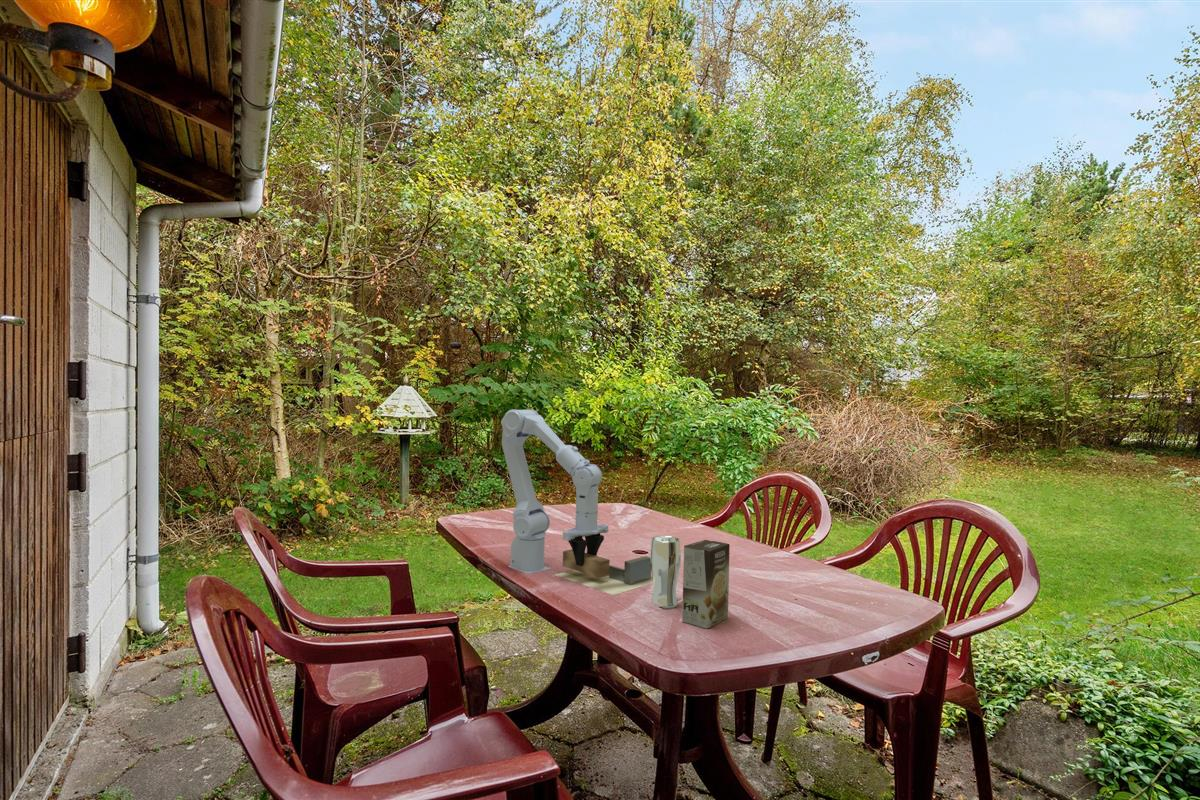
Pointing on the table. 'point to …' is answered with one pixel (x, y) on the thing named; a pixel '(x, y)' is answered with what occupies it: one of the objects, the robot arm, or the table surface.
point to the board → (601, 582)
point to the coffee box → (705, 583)
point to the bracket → (632, 571)
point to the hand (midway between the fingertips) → (585, 563)
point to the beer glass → (665, 570)
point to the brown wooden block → (587, 564)
